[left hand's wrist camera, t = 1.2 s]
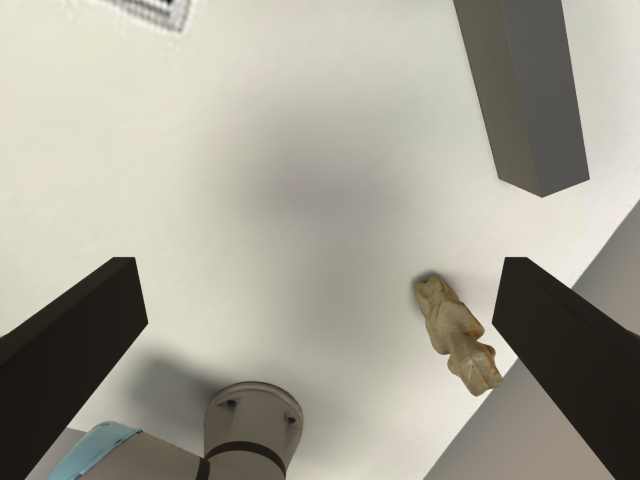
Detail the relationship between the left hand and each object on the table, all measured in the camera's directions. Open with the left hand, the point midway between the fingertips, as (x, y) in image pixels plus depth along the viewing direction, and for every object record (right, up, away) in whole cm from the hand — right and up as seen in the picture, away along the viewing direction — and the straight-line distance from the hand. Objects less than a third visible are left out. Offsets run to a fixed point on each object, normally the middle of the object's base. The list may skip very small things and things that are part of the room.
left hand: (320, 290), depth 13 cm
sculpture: (+15, -5, +35) cm, 39 cm away
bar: (+18, +22, +24) cm, 37 cm away
